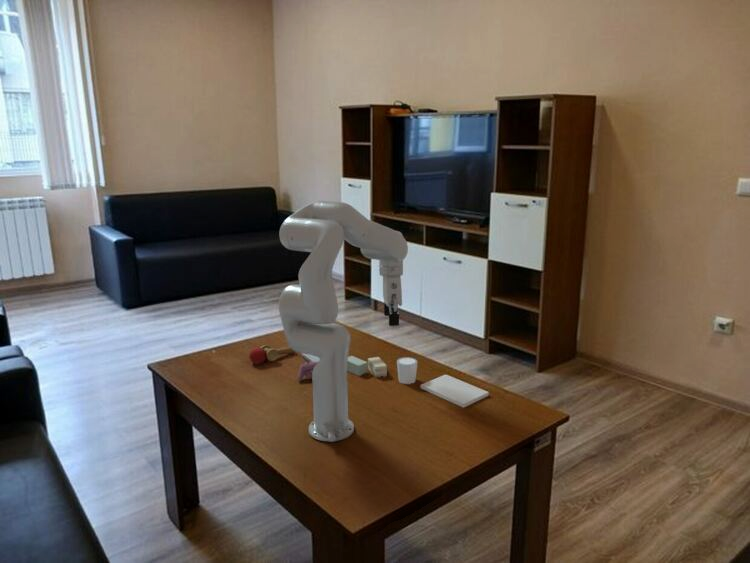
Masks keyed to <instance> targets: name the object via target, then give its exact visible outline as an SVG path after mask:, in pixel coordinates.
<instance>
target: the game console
mask: <svg viewBox="0 0 750 563" xmlns="http://www.w3.org/2000/svg"><path fill="white" fill-rule="evenodd" d="M301 357H303V359H305V360H306V361H307V362H319V360H320V359H319V357H317V356H313V355H309V354H304V353H301Z"/></svg>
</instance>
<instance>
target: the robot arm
mask: <svg viewBox="0 0 750 563" xmlns="http://www.w3.org/2000/svg"><path fill="white" fill-rule="evenodd" d="M278 232H279V234H278V235H279V240H280V243H281V245H282V246H283V247H284V248H285V249H287V250H290V251H296V252H303V253H304V252H306V253H310V254H309V255H308V257H307V258H306V259H305V261H304V262H303V263H302V265H301V267H300V268H299V271H298V283H299V284H296V283H295V284H290V285H287V286H286V287H285V288H284V289H283V290H282V291H281V293H280V295H279V299H278V300H279V301H278V312H279V317H280V321H281V324H282V328H283V332H284V335H285V339H286V342H287V344H288V347H290V348H291V349H292V350H294V351H296V353H300V354H302V353H304V354H309V355H313V356H317V357H319V359H320V360H319V362H318V363H317V364H316V366H315V367H314V369H313V371H311V372H312V378H311V379H312V401H313V402H312V403H313V407H312V408H313V420H312V421H311V423H309V426H308V433H309V436H311V437H312V438H313V439H315V440H318V441H322V442H338V441H341V440H345V439H347V438H349V437H350V436H351V435H352V434H353V433H354V431H355V430H354V429H355V427H354V426H355V425H354V423H353V421H352V420H350V419H349V407H348V406H349V402H348V401H349V394H348V388H349V387H348V371H347V360H348V357H349V353H350V352H349V351H350V347H351V334H350V331H349V330H348V329H347V328H346V327H345V326H344V325H342V324H339V323H336V322H335V321H336V319H338V314H339V304H338V299H337V298H338V297H337V293H336V289H335V284H334V278H333V268H334V265H335V262H336V260H337V257H338V255H339V253H340V251H341V248H342V247H343V244H344V240H345V241H346V242H347V243H348V244H350V245H352V246H354V247H356V248H360V253H361V254H362V256H363V257H364V258H367V259H370V260H378V262H379V263H378V264H379V265H378V266H379V271H378V272H379V276H381V277H382V297H383V301H384V304H383V307H384V308H383V313H384V314H383V315H384V316H386V317H388V325H389V327H395V326H400V310H399V309H400V308H399V307H402V305H403V298H402V297H403V294H402V293H403V292H402V289H403V288H402V279H401V278H402V277H401V276H404V260H405V259H406V257H407V255H408V252H409V246H408V243H407V240H406V238H405V237H404V236H403V233H402V232H401V231H398V230H394V229H393V228H390V227H388V226H385V225H383V224H380V223H378V222H375V221H373V220H370V219H368V218H367V217H365V215H363V214H362V213H361V212H359V210H357V209H356V208H355V207H353V206H352V205H351V204H348V203H346V202H342V201H327V200H326V201H325V200H316V201H313V202H309V203H308V204H306V205H304V206H303V207H301V208H299V209H298V210H296V211H295V212H293V213H292V214H291V215H289V216H288V217H287V218H286V219H284V220H283V222H282V224H281V225H280V228H279V231H278Z"/></svg>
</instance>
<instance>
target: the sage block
mask: <svg viewBox="0 0 750 563" xmlns="http://www.w3.org/2000/svg"><path fill="white" fill-rule="evenodd" d="M347 372H349V373H351V372H352V373H351V374H353V373H354V374H353V375H356V376H358V377H359V375H360V376H362V374H363V375H365V374H368V361H365V360H363V359H360V358H358V357H356V356H353V355H350V356H348V360H347ZM364 373H365V374H364Z"/></svg>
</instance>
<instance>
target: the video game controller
mask: <svg viewBox="0 0 750 563" xmlns="http://www.w3.org/2000/svg"><path fill="white" fill-rule="evenodd" d="M317 363H318V362H309V361H307V362H304V363H302V364H301V365H300V367H299V369H298V375H297V381H298V382H299V383H302V381H303V378H304V376H305V378H306V379H308V380H309V379H312V372H313V369H314V367H315V366H316V364H317Z"/></svg>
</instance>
